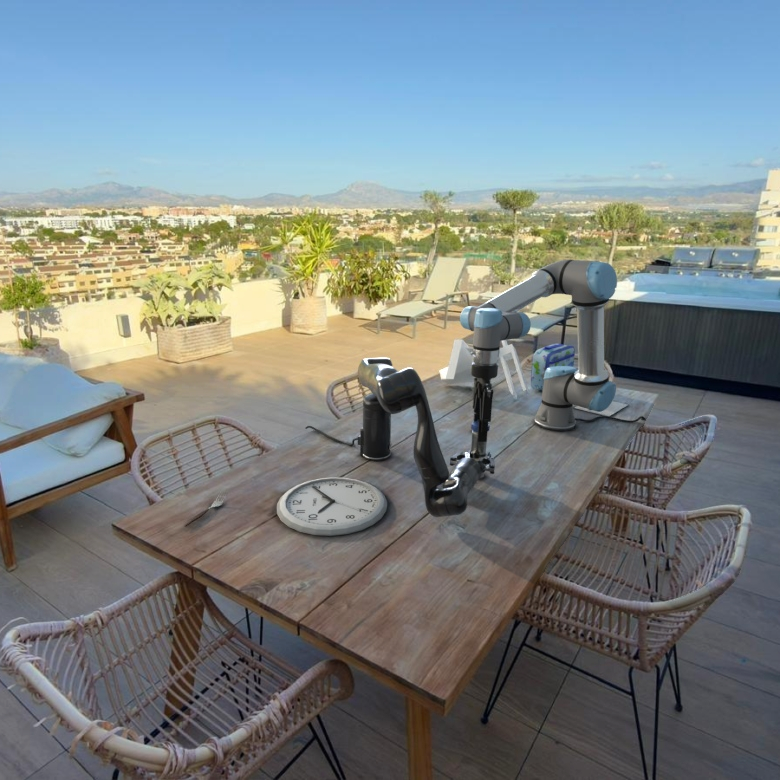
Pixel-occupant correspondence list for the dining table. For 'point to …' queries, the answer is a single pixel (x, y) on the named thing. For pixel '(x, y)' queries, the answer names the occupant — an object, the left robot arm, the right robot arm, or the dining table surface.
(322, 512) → the wall clock
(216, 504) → the fork
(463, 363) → the white plastic object
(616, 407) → the invitation card
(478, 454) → the jar
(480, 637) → the dining table surface
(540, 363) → the lunch box
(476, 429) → the lid
